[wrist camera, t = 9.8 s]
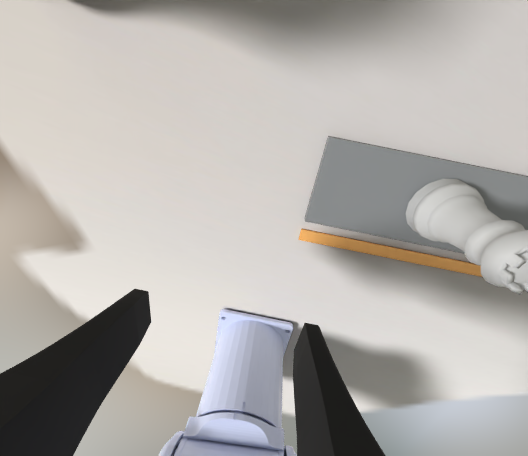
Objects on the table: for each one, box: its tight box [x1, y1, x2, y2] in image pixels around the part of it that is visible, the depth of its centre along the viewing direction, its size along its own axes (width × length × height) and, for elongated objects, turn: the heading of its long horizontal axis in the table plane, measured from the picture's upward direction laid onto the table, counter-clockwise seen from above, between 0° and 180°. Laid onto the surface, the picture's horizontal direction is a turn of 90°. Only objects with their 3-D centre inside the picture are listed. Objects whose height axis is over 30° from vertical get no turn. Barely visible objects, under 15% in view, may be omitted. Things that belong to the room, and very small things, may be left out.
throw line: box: [299, 229, 483, 277], centre depth 20 cm, size 1×20×1 cm, turn 80°
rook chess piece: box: [406, 179, 528, 294], centre depth 13 cm, size 4×4×8 cm
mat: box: [305, 136, 528, 254], centre depth 17 cm, size 6×20×1 cm, turn 80°
